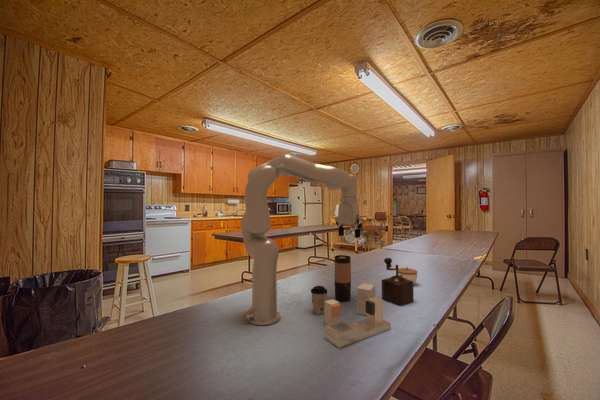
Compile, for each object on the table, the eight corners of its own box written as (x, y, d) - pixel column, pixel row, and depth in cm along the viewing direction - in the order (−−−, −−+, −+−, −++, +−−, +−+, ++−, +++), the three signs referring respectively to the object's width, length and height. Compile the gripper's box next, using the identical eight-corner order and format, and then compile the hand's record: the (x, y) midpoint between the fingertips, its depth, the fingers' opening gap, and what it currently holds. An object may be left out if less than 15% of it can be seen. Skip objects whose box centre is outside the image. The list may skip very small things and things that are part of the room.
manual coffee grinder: (415, 301, 121) (415, 262, 122) (400, 306, 115) (399, 265, 116) (387, 292, 134) (387, 256, 135) (372, 296, 128) (372, 259, 129)
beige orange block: (324, 322, 100) (324, 301, 100) (332, 320, 102) (332, 299, 102) (332, 327, 95) (332, 305, 96) (341, 325, 98) (341, 303, 98)
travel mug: (350, 296, 127) (350, 255, 128) (351, 302, 120) (351, 258, 120) (334, 296, 128) (334, 255, 129) (334, 301, 121) (334, 258, 121)
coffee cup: (326, 316, 105) (326, 290, 106) (309, 314, 107) (309, 289, 107) (328, 309, 112) (328, 285, 112) (312, 308, 114) (312, 284, 114)
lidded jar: (392, 282, 151) (392, 265, 151) (408, 280, 154) (408, 264, 154) (405, 288, 141) (405, 270, 141) (421, 286, 144) (421, 268, 144)
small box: (362, 306, 115) (362, 282, 115) (375, 309, 112) (375, 284, 112) (356, 313, 108) (356, 287, 108) (370, 316, 105) (370, 289, 105)
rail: (338, 348, 82) (338, 315, 82) (324, 337, 88) (324, 307, 88) (390, 328, 94) (390, 300, 95) (374, 321, 101) (374, 294, 101)
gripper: (330, 200, 129) (330, 235, 129) (359, 200, 116) (359, 239, 116) (340, 200, 134) (340, 234, 134) (369, 200, 121) (369, 237, 120)
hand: (349, 236), depth 125 cm, fingers open, 9 cm apart
